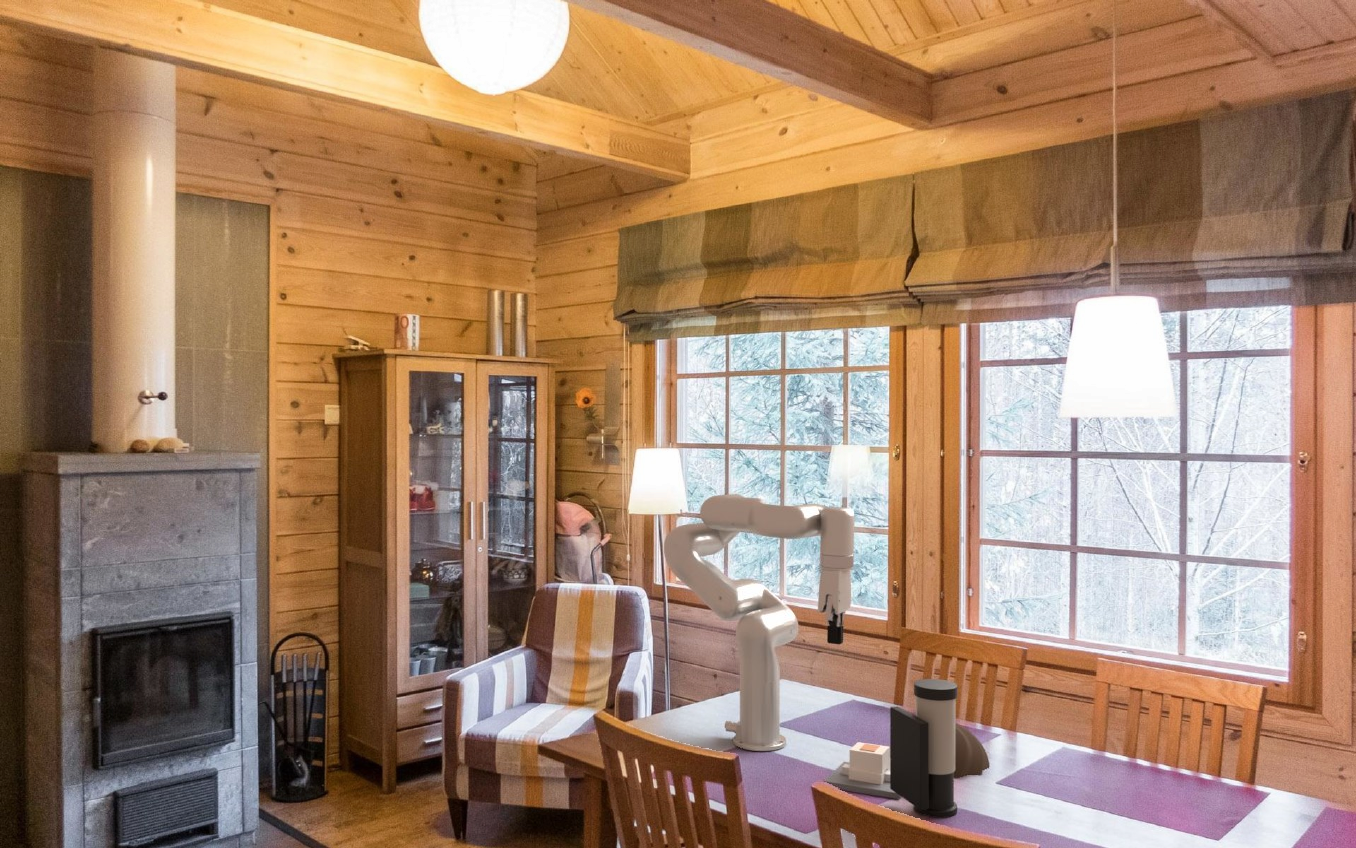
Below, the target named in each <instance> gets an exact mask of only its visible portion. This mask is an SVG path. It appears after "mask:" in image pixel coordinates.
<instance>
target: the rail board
mask: <svg viewBox="0 0 1356 848" xmlns="http://www.w3.org/2000/svg"><path fill="white" fill-rule="evenodd" d="M849 769H850V761H843V762H842V763H841V764H840V765H839V766H838V767H837V768H836V769H835V770H833V772H832V773H831V774H830V775H828V777H826V778H825V779H824V780H823V783H824V782H827V783H829V784H832V785H833V786H835V787H838V788H840V789H842V790H841V791H847V792H854V793H857V794H858V793H859V794H864V795H871V796H877V797H883V798H888V799H895V800H900V799H901V798H902V797H901V796H900V795H898V794H897V793H895V792H894V791H893V790H891V789H890V771H887V770H885V781H884V782H883V783H882V784H875V783H869V782H863V781H857V780H851V779H849ZM840 789H839V790H840Z"/></svg>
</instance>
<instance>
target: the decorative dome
mask: <svg viewBox="0 0 1356 848" xmlns="http://www.w3.org/2000/svg"><path fill="white" fill-rule="evenodd" d="M989 767H990V761H989V758H988V754H987V751H986V749H985V747H984V745H983V744H982V742H981V741H980V740H979V739H978V737H976V736H975V734H973V733H972V732H971V731H970V730H969V729H968V728H966V727H965V726H963V725H962V724H960V723H958V722H955V771H954V779H961V778H964V777H967V775H978V776H982V774H983V771H986V770H988V769H990V768H991V767H990V768H989ZM987 768H988V769H987ZM985 769H986V770H985ZM960 777H961V778H960Z"/></svg>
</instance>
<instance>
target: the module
mask: <svg viewBox="0 0 1356 848" xmlns="http://www.w3.org/2000/svg"><path fill="white" fill-rule="evenodd" d="M849 762H850V769H849V779H851V780H857V781H863V782H869V783H875V784H882V783H883V782H884V781H885V770H887V771H890V746H886V745H881V744H874V743H867V742H862V741H861V742H860V741H857V742H856V744H854V745H853V746H852V747H851V748H850V749H849Z"/></svg>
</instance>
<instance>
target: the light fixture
mask: <svg viewBox="0 0 1356 848" xmlns="http://www.w3.org/2000/svg"><path fill="white" fill-rule="evenodd" d="M958 687H959V686H958V684H957V683H956V682H953V681H950V680H945V679H938V678H936V679H935V678H923V679H918V680H915V681H914V682H913V695H914V696H915V715H914V714H913V713H911V712H909V711H907V710H905V709H904V708H901V707H899V706H890V708H889V709H890V711H889V713H890V716H889V717H890V720H889V721H890V725H889V726H890V728H889V729H890V730H889V733H890V736H889V739H890V740H889V743H890V744H889V745H890V746H889V747H890V789H891V790H893V791H894V792H895V793H897V794H898V795H900V796H901V798H902V799H904V800H905V801H907V802H908V803H910V804H911V805H912V806H913V808H914V810H915V811H916V812H917V813H919V814H921V815H923V816H927V817H932V818H949V817H953V816H955V815H956V814H957V813H958V804H957V803H956V802H955V797H954V796H955V789H954V788H955V787H954V784H955V783H954V781H955V780H954V779H955V778H954V771H955V723H956V699H957V698H958V696H959V695H958V693H959V691H958V689H959V688H958Z"/></svg>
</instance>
